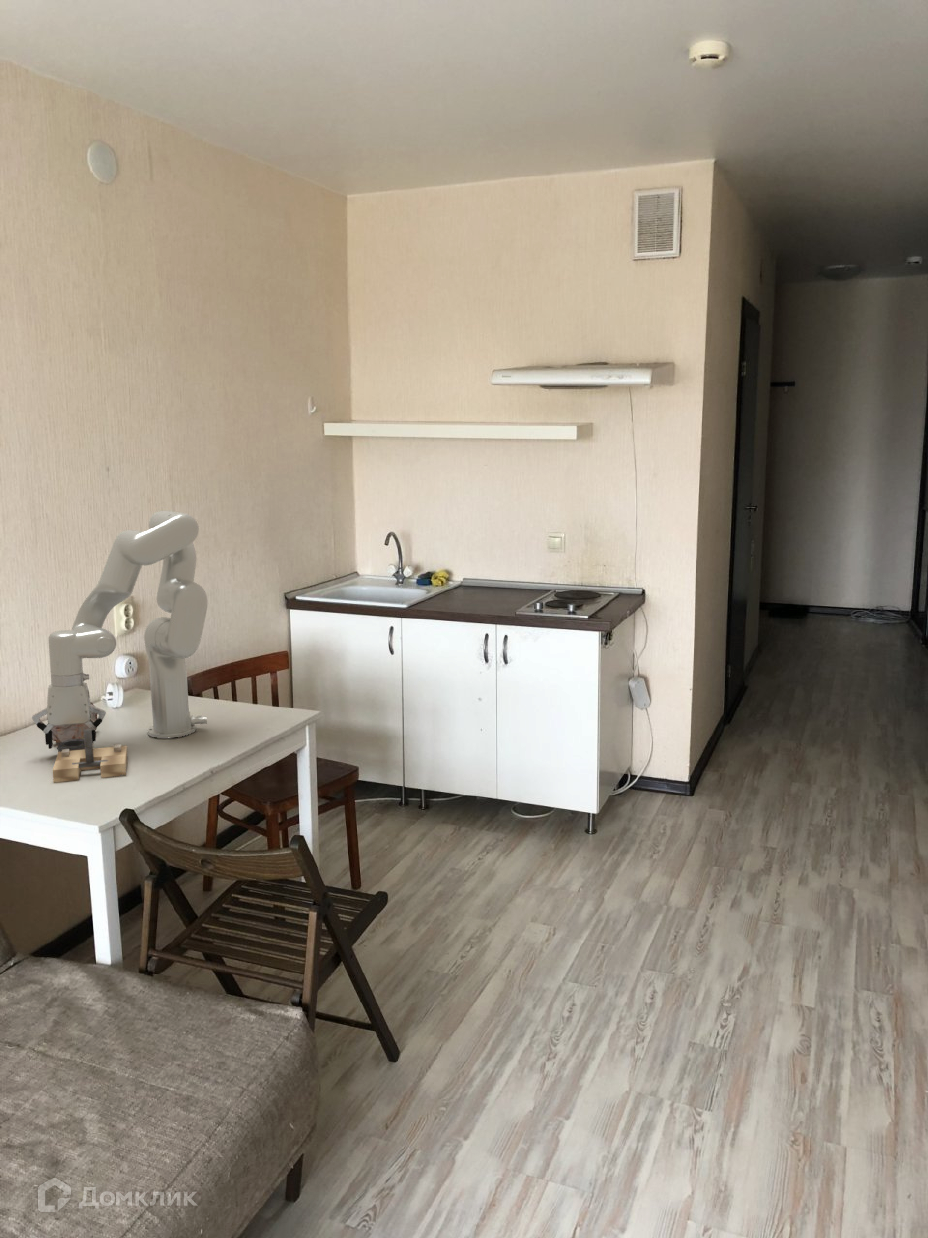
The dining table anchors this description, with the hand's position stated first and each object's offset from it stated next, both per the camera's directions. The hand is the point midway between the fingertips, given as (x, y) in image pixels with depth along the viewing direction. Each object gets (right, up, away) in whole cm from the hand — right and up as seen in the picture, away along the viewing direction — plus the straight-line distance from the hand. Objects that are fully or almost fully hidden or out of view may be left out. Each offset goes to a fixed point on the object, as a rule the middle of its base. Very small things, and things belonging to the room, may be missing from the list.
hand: (71, 745), depth 250 cm
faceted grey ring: (0, -2, +1) cm, 3 cm away
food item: (-4, 0, +14) cm, 15 cm away
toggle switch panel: (+9, -5, -10) cm, 14 cm away
